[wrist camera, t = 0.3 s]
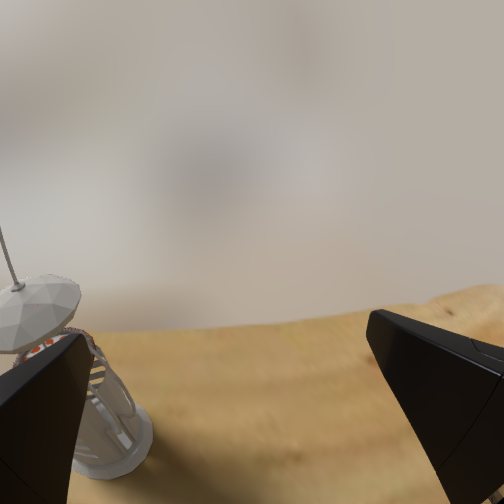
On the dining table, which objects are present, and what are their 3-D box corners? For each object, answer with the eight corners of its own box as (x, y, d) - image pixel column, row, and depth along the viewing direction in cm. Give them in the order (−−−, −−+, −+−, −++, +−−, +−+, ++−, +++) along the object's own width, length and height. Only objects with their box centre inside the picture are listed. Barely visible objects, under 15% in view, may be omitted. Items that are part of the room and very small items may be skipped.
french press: (97, 381, 25) (18, 127, 15) (191, 424, 21) (116, 79, 11) (41, 442, 17) (-91, 164, 6) (134, 511, 13) (-84, 107, 3)
